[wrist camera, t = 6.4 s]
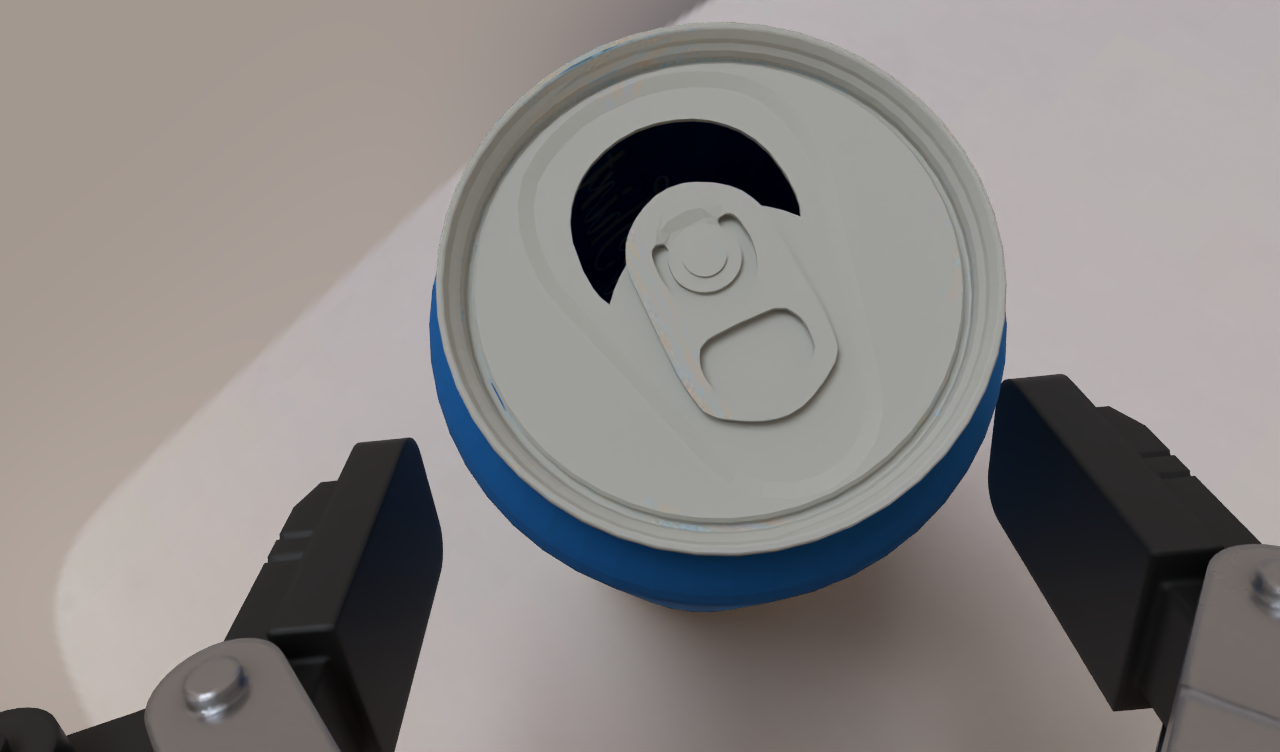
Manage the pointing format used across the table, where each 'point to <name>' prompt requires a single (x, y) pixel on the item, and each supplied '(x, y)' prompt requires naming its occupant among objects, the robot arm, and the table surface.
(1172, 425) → the table surface
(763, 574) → the beverage can
